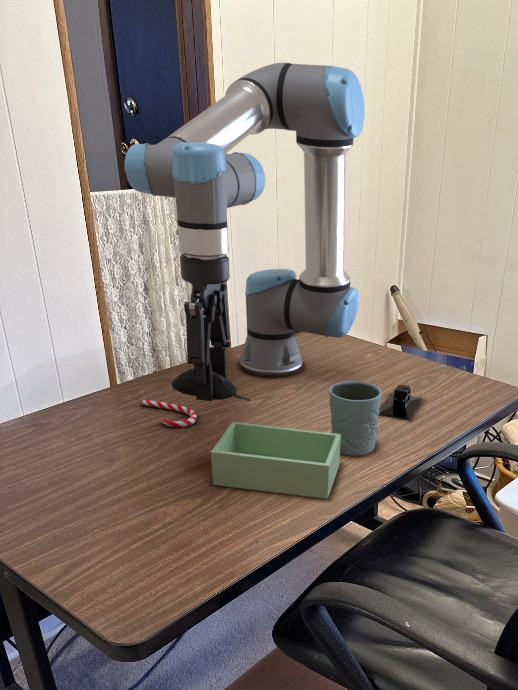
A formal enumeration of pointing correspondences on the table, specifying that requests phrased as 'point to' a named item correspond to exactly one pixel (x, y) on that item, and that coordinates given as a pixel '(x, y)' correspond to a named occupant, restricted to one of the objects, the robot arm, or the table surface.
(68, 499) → the table surface
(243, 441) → the open rectangular box
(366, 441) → the blue-grey embossed cup
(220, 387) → the gaming mouse
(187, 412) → the candy cane
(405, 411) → the black bracket mount
